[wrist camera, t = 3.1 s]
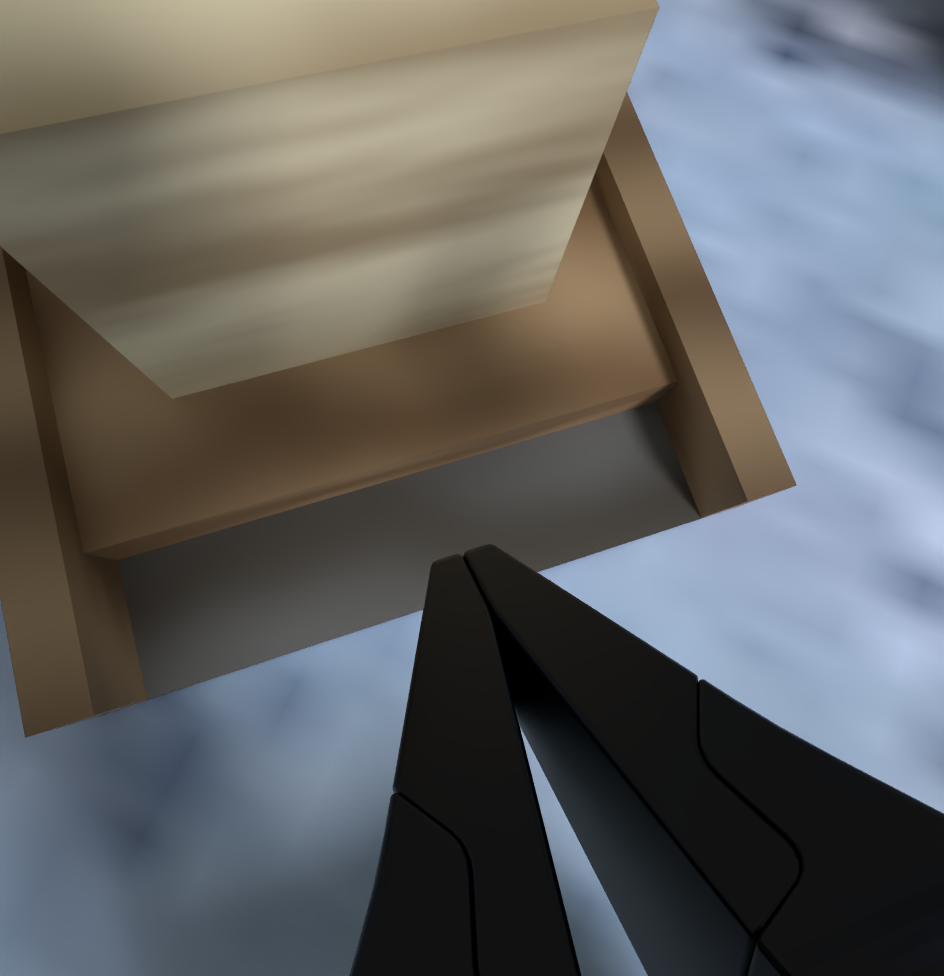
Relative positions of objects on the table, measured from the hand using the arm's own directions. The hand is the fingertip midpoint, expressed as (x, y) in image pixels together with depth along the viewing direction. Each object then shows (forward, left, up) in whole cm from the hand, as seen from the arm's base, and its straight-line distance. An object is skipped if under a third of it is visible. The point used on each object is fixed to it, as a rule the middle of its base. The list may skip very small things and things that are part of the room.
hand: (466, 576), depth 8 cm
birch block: (+9, +9, -8) cm, 15 cm away
